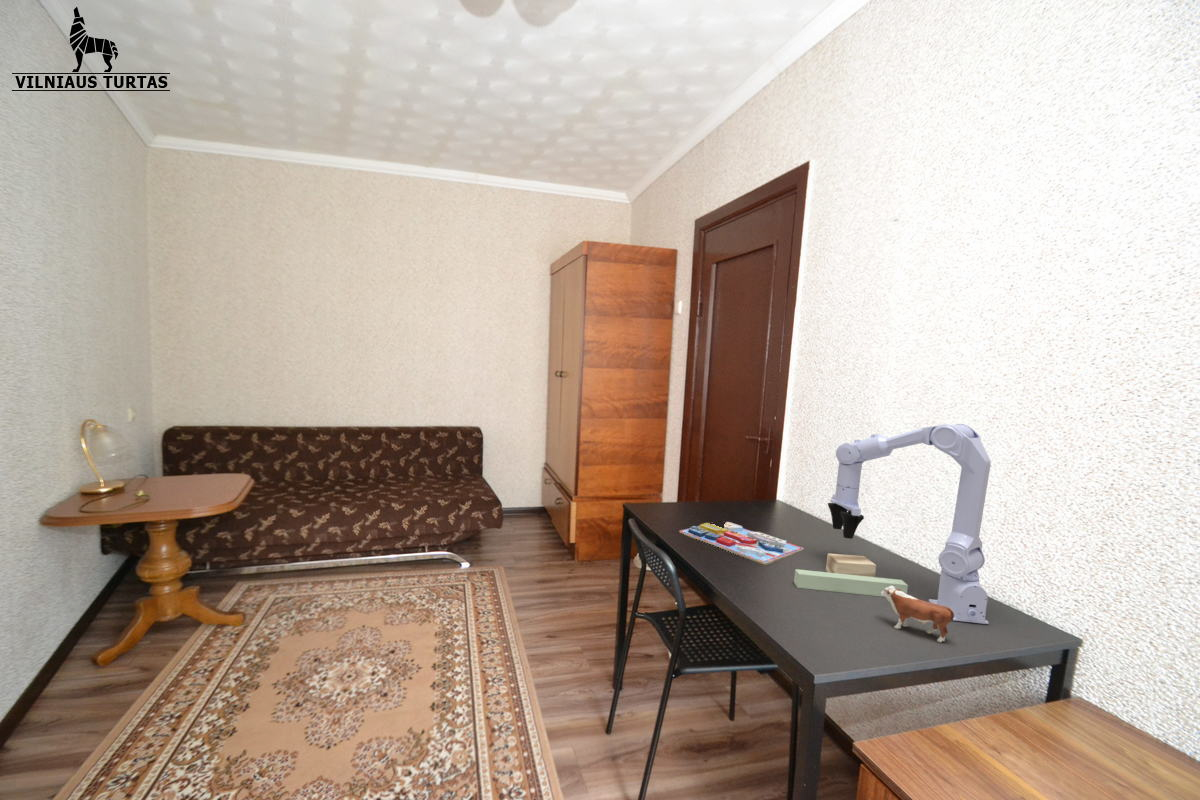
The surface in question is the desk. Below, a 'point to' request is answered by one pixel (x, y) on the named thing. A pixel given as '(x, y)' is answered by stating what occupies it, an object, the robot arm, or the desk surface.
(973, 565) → the robot arm
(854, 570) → the beech block
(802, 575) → the pale green block
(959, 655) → the desk surface
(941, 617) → the bull figurine
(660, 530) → the desk surface
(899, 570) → the desk surface
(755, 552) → the puzzle board
